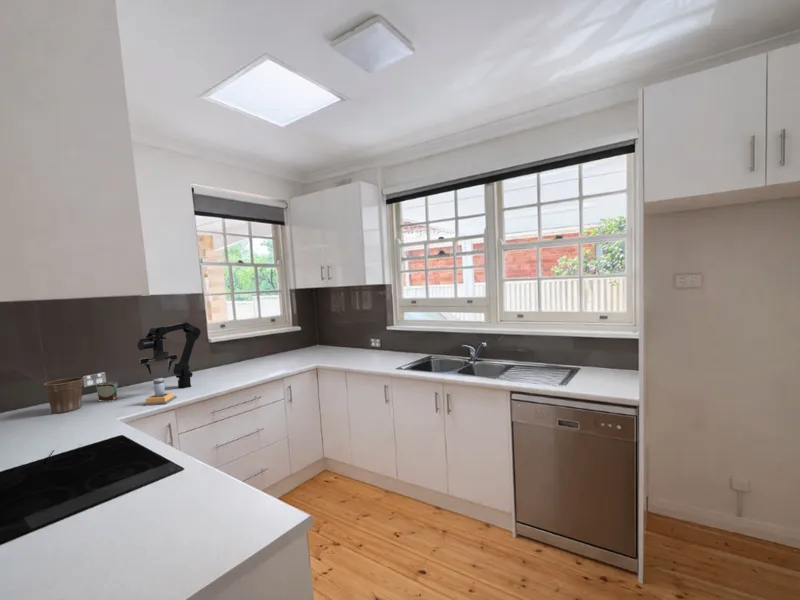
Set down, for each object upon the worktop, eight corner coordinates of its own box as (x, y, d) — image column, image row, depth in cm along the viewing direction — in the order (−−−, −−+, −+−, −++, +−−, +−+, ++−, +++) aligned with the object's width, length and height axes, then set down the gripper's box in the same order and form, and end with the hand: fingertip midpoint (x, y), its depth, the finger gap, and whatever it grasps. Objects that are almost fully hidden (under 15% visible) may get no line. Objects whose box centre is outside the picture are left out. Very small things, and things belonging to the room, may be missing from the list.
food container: (124, 397, 219) (123, 381, 219) (115, 400, 213) (114, 383, 213) (105, 397, 221) (104, 381, 220) (96, 401, 215) (95, 384, 214)
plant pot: (52, 408, 203) (50, 379, 203) (90, 403, 210) (87, 375, 210) (40, 417, 189) (38, 386, 188) (81, 411, 196) (78, 381, 195)
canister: (161, 398, 211) (159, 377, 210) (167, 398, 209) (165, 378, 208) (153, 401, 206) (151, 379, 205) (159, 401, 204) (157, 380, 204)
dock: (154, 399, 213) (154, 393, 213) (176, 397, 214) (176, 391, 214) (142, 405, 201) (142, 399, 201) (166, 404, 202) (166, 397, 202)
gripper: (140, 351, 211) (142, 378, 211) (177, 346, 222) (179, 372, 223) (138, 349, 219) (140, 374, 220) (174, 344, 231) (176, 369, 232)
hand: (159, 372), depth 223 cm, fingers open, 9 cm apart
